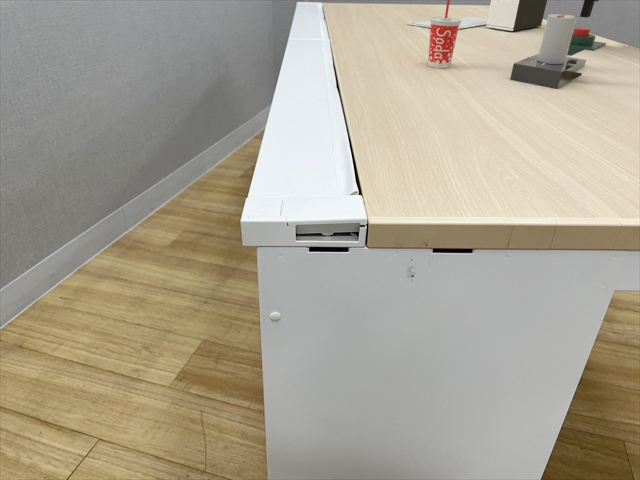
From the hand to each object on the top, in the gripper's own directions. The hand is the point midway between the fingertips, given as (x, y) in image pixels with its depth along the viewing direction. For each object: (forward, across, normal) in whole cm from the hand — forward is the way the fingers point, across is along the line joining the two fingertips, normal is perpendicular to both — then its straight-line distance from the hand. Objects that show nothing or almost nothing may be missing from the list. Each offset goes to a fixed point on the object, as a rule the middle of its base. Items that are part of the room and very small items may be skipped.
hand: (584, 16), depth 113 cm
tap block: (+8, +4, -30) cm, 31 cm away
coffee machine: (+8, -35, +18) cm, 40 cm away
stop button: (+4, 0, 0) cm, 4 cm away
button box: (+8, 0, 0) cm, 8 cm away
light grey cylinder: (+5, +4, -30) cm, 31 cm away
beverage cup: (+8, -16, -37) cm, 41 cm away
